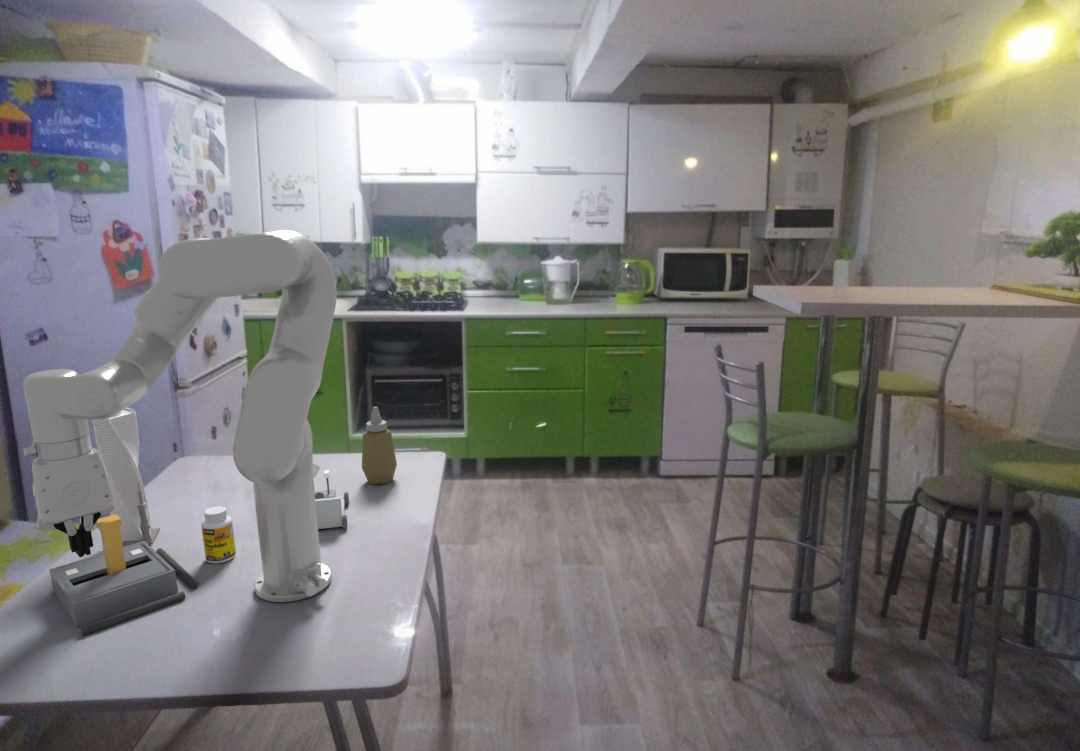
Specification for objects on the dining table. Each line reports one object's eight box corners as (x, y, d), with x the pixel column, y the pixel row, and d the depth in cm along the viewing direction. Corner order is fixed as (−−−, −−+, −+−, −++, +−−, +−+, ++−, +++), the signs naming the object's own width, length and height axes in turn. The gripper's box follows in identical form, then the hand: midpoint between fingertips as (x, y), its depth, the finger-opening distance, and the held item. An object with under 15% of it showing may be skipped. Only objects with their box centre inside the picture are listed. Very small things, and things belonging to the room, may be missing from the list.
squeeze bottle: (404, 478, 174) (400, 405, 170) (380, 489, 167) (375, 414, 163) (380, 472, 178) (375, 401, 174) (355, 482, 171) (349, 409, 167)
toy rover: (291, 461, 159) (346, 456, 161) (295, 503, 161) (349, 498, 164) (282, 492, 142) (343, 486, 144) (286, 539, 144) (347, 532, 147)
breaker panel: (178, 591, 124) (174, 569, 123) (77, 627, 114) (72, 603, 113) (147, 560, 135) (144, 540, 134) (53, 590, 125) (49, 568, 124)
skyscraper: (103, 550, 139) (80, 410, 133) (114, 533, 147) (93, 399, 140) (152, 544, 142) (131, 405, 135) (160, 527, 149) (141, 395, 143)
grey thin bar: (185, 599, 122) (184, 592, 121) (83, 636, 111) (82, 629, 111) (183, 596, 122) (182, 590, 122) (81, 633, 112) (80, 626, 112)
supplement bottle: (202, 565, 133) (195, 517, 131) (210, 552, 138) (204, 505, 136) (232, 563, 134) (226, 515, 131) (239, 550, 139) (233, 503, 136)
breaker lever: (130, 573, 124) (121, 518, 122) (109, 580, 122) (99, 524, 120) (125, 567, 126) (116, 514, 124) (104, 574, 124) (95, 519, 122)
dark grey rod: (199, 586, 125) (198, 580, 125) (191, 589, 125) (191, 583, 124) (163, 553, 138) (162, 547, 138) (156, 555, 137) (155, 549, 137)
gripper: (12, 465, 108) (34, 577, 112) (123, 441, 118) (139, 545, 123) (2, 454, 113) (24, 561, 118) (109, 431, 124) (125, 531, 128)
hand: (83, 553), depth 120 cm, fingers closed
